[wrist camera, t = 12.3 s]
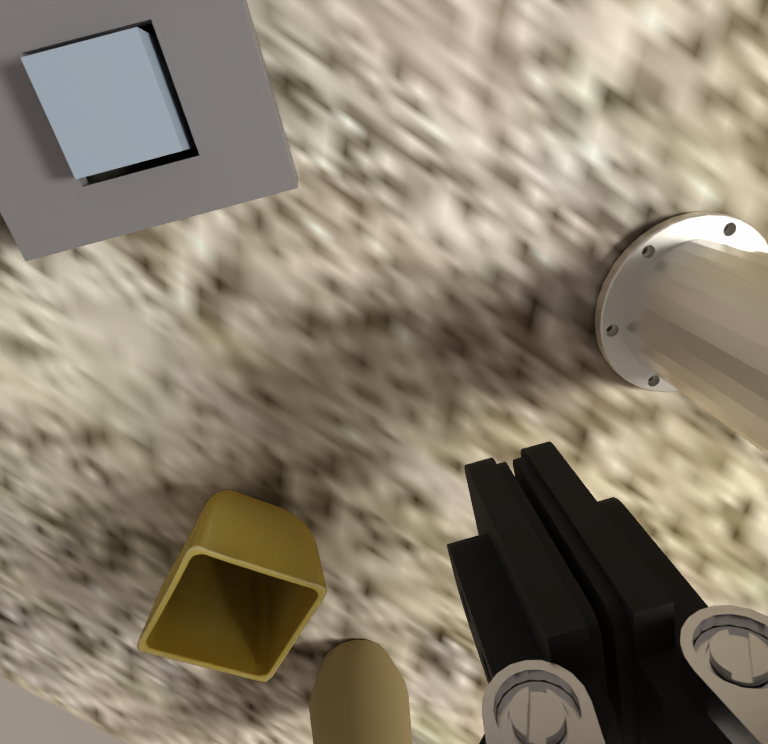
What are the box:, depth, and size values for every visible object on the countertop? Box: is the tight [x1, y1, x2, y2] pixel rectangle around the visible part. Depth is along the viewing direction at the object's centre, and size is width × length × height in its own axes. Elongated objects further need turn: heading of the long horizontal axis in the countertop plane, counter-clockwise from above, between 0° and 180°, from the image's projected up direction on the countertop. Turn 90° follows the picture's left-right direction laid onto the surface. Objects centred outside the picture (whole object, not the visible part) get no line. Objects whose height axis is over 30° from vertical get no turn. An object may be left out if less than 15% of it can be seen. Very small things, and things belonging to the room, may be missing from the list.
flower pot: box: [137, 490, 327, 682], centre depth 39 cm, size 9×9×9 cm
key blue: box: [20, 27, 196, 179], centre depth 27 cm, size 5×5×5 cm
